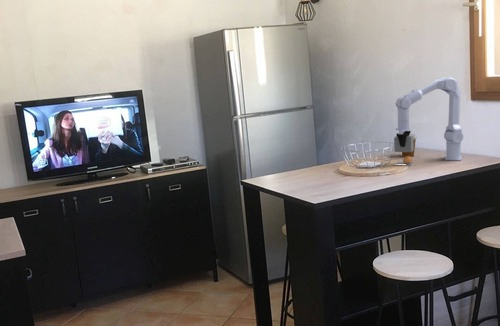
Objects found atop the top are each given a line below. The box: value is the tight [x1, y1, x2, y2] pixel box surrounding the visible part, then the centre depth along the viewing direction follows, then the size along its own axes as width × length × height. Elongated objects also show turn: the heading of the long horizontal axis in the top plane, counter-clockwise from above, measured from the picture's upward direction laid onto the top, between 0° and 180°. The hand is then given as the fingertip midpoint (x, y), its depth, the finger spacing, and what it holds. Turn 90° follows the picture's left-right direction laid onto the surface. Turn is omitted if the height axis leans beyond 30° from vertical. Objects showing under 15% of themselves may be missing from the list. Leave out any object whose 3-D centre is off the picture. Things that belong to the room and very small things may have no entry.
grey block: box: [393, 135, 413, 153], centre depth 282 cm, size 6×9×8 cm
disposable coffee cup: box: [401, 133, 417, 158], centre depth 303 cm, size 10×10×12 cm
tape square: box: [395, 161, 414, 167], centre depth 284 cm, size 8×8×1 cm
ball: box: [402, 156, 413, 164], centre depth 283 cm, size 4×4×4 cm
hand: (403, 145), depth 282 cm, fingers closed on grey block, 6 cm apart
